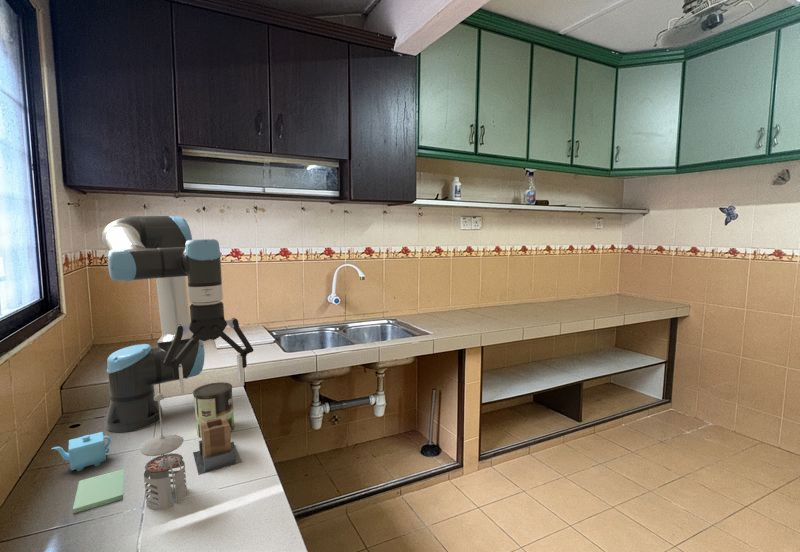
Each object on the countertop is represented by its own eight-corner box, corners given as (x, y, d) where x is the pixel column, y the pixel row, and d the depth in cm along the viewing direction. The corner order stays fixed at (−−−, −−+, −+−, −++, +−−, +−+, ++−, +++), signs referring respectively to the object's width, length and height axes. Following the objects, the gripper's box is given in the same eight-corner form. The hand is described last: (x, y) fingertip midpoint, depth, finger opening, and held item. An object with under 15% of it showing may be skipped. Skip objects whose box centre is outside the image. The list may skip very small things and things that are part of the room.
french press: (181, 484, 98) (172, 382, 95) (204, 504, 91) (196, 394, 88) (134, 506, 90) (123, 395, 88) (155, 530, 83) (145, 410, 80)
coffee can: (233, 423, 128) (230, 379, 127) (236, 438, 119) (233, 391, 117) (196, 431, 124) (193, 385, 122) (196, 447, 115) (192, 398, 113)
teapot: (53, 479, 101) (50, 450, 100) (54, 468, 106) (51, 440, 105) (113, 462, 108) (110, 434, 107) (111, 452, 113) (109, 426, 112)
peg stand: (193, 457, 109) (190, 423, 108) (233, 446, 115) (231, 413, 114) (199, 480, 99) (196, 443, 98) (242, 467, 105) (240, 431, 103)
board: (79, 484, 98) (79, 480, 98) (130, 471, 104) (129, 467, 104) (73, 513, 88) (72, 509, 88) (129, 497, 94) (128, 492, 93)
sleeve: (202, 455, 108) (200, 422, 107) (227, 448, 111) (225, 416, 110) (206, 466, 103) (203, 431, 102) (231, 458, 106) (229, 425, 105)
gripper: (147, 310, 92) (155, 402, 95) (262, 299, 106) (266, 380, 108) (146, 305, 99) (154, 392, 101) (255, 295, 112) (259, 372, 114)
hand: (212, 386), depth 105 cm, fingers open, 13 cm apart
